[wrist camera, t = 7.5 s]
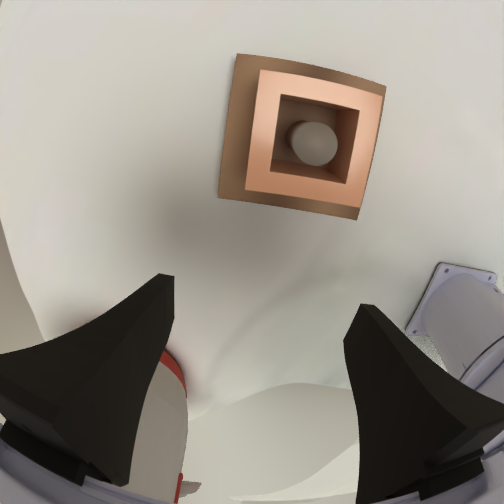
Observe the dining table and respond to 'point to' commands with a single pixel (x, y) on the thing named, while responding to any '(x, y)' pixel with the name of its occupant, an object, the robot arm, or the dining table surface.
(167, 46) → the dining table surface
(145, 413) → the citrus juicer
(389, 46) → the dining table surface
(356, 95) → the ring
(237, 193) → the post stand
